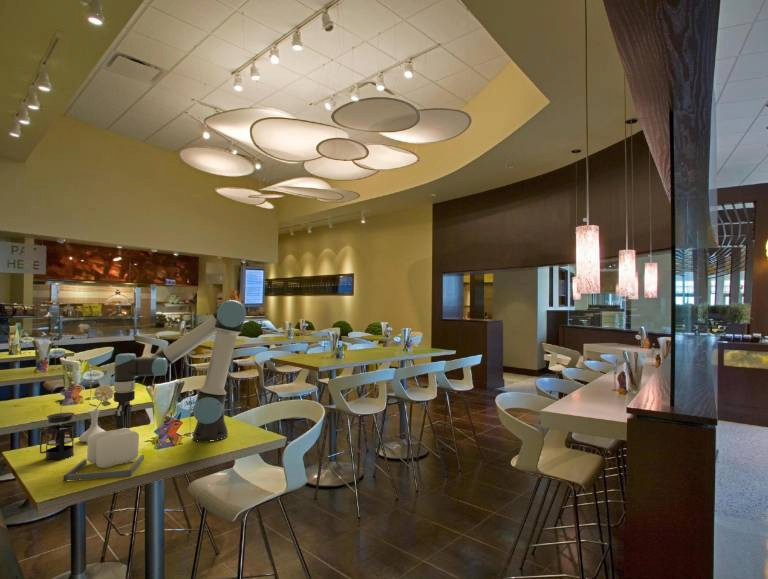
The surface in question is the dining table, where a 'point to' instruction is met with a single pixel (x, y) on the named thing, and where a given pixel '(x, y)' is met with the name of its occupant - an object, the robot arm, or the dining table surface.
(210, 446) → the dining table surface
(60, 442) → the french press
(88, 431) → the flower in vase
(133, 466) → the frame
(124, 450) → the white napkin holder
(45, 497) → the dining table surface
